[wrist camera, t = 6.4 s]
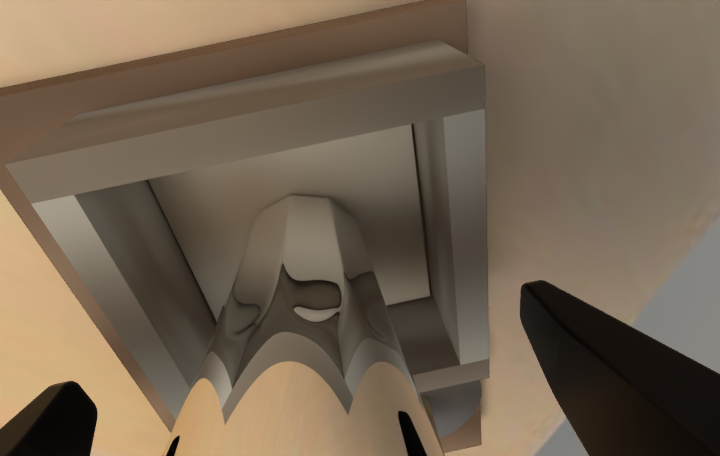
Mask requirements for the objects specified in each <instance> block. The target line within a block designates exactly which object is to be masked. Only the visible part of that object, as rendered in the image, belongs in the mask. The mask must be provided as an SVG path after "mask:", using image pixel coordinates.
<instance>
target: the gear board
mask: <svg viewBox="0 0 720 456" xmlns="http://www.w3.org/2000/svg"><path fill="white" fill-rule="evenodd" d="M0 189H1V191H2V192H3V194H4V195H5V196H6V198H7V199H8V201H9V202H10V204H11V205H12V206H13V208H14V209H15V211H16V212H17V214H18V215H19V216H20V218H21V219H22V221H23V222H24V224H25V225H26V226H27V228H28V229H29V231H30V232H31V234H32V235H33V237H34V238H35V239H36V241H37V242H38V244H39V245H40V247H41V248H42V249H43V251H44V252H45V254H46V255H47V257H48V258H49V259H50V261H51V262H52V264H53V265H54V267H55V268H56V269H57V271H58V272H59V274H60V275H61V277H62V278H63V279H64V281H65V282H66V284H67V285H68V287H69V288H70V289H71V291H72V292H73V294H74V295H75V297H76V298H77V299H78V301H79V302H80V304H81V305H82V307H83V308H84V309H85V311H86V312H87V314H88V315H89V317H90V318H91V319H92V321H93V322H94V324H95V325H96V327H97V328H98V329H99V331H100V332H101V334H102V335H103V337H104V338H105V339H106V341H107V342H108V344H109V345H110V347H111V348H112V349H113V351H114V352H115V354H116V355H117V357H118V358H119V359H120V361H121V362H122V364H123V365H124V367H125V368H126V369H127V371H128V372H129V374H130V375H131V377H132V378H133V379H134V381H135V382H136V384H137V385H138V387H139V388H140V390H141V391H142V392H143V394H144V395H145V397H146V398H147V400H148V401H149V402H150V404H151V405H152V407H153V408H154V410H155V411H156V412H157V414H158V415H159V417H160V418H161V420H162V421H163V422H164V424H165V425H166V427H167V428H168V430H169V431H170V432H172V430H173V427H174V425H175V422H176V420H177V418H178V415H179V413H180V410H181V408H182V405H183V403H184V401H185V398H186V396H187V393H188V391H189V389H190V387H191V384H192V382H193V380H194V378H195V376H196V374H197V372H198V370H199V368H200V366H201V363H202V361H203V359H204V357H205V354H206V352H207V349H208V346H209V343H210V341H211V338H212V335H213V332H214V329H215V327H216V324H217V321H218V318H219V315H220V313H221V310H222V307H223V304H224V301H225V299H226V296H227V293H228V290H229V287H230V284H231V282H232V279H233V276H234V273H235V270H236V268H237V265H238V262H239V259H240V256H241V254H242V251H243V248H244V245H245V243H246V240H247V238H248V236H249V233H250V231H251V229H252V226H253V224H254V221H255V219H256V216H257V214H258V212H259V211H261V210H263V209H265V208H267V207H269V206H271V205H272V204H274V203H276V202H278V201H280V200H282V199H283V198H285V197H287V196H289V195H303V196H316V197H328V198H330V199H331V200H332V201H333V202H335V203H336V204H337V205H338V206H340V207H341V208H342V209H344V210H345V211H346V212H347V213H349V214H350V215H351V216H353V217H354V218H355V219H356V221H357V224H358V227H359V229H360V232H361V235H362V238H363V241H364V244H365V247H366V249H367V252H368V255H369V258H370V261H371V264H372V267H373V269H374V272H375V275H376V278H377V281H378V284H379V287H380V289H381V292H382V295H383V298H384V301H385V304H386V307H387V310H388V312H389V315H390V318H391V321H392V324H393V327H394V329H395V332H396V335H397V338H398V340H399V343H400V346H401V348H402V351H403V353H404V356H405V358H406V361H407V363H408V366H409V368H410V371H411V373H412V376H413V378H414V381H415V383H416V386H417V388H418V391H419V393H420V396H421V398H422V401H423V403H424V406H425V409H426V411H427V414H428V416H429V419H430V421H431V424H432V426H433V429H434V431H435V434H436V436H437V439H438V441H439V444H440V446H441V449H442V452H443V454H444V453H447V452H451V451H456V450H460V449H465V448H470V447H474V446H479V445H482V444H481V416H480V398H481V385H480V382H479V380H481V379H485V378H489V323H488V260H487V196H486V133H485V70H484V64H483V63H481V62H479V61H477V60H475V59H473V58H472V57H470V56H468V47H467V19H466V0H425V1H421V2H416V3H411V4H406V5H401V6H396V7H392V8H387V9H382V10H377V11H372V12H367V13H363V14H358V15H353V16H348V17H343V18H338V19H333V20H329V21H324V22H319V23H314V24H309V25H304V26H300V27H295V28H290V29H285V30H280V31H275V32H271V33H266V34H261V35H256V36H251V37H246V38H241V39H237V40H232V41H227V42H222V43H217V44H212V45H208V46H203V47H198V48H193V49H188V50H183V51H178V52H174V53H169V54H164V55H159V56H154V57H149V58H145V59H140V60H135V61H130V62H125V63H120V64H116V65H111V66H106V67H101V68H96V69H91V70H86V71H82V72H77V73H72V74H67V75H62V76H57V77H53V78H48V79H43V80H38V81H33V82H28V83H24V84H19V85H14V86H9V87H4V88H0ZM444 456H445V455H444Z"/></svg>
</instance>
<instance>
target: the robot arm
mask: <svg viewBox="0 0 720 456" xmlns="http://www.w3.org/2000/svg"><path fill="white" fill-rule="evenodd" d="M520 318H521V322H522V325H523V327H524V330H525V332H526V334H527V336H528V339H529V341H530V343H531V345H532V348H533V350H534V352H535V354H536V357H537V359H538V361H539V363H540V366H541V368H542V370H543V372H544V375H545V377H546V379H547V381H548V384H549V386H550V388H551V390H552V392H553V394H554V396H555V398H556V399H557V401H558V403H559V405H560V407H561V408H562V410H563V412H564V414H565V415H566V417H567V419H568V420H569V422H570V424H571V426H572V427H573V429H574V431H575V432H576V434H577V436H578V437H579V439H580V441H581V442H582V444H583V446H584V448H585V449H586V451H587V453H588V455H589V456H720V374H719V373H717V372H715V371H713V370H711V369H709V368H707V367H706V366H704V365H702V364H700V363H698V362H696V361H694V360H692V359H691V358H689V357H687V356H685V355H683V354H681V353H679V352H678V351H676V350H674V349H672V348H670V347H668V346H666V345H664V344H662V343H661V342H659V341H657V340H655V339H653V338H651V337H649V336H648V335H646V334H644V333H642V332H640V331H638V330H636V329H634V328H632V327H631V326H629V325H627V324H625V323H623V322H621V321H619V320H618V319H616V318H614V317H612V316H610V315H608V314H606V313H604V312H603V311H601V310H599V309H597V308H595V307H593V306H591V305H589V304H588V303H586V302H584V301H582V300H580V299H578V298H576V297H574V296H573V295H571V294H569V293H567V292H565V291H563V290H561V289H559V288H558V287H556V286H554V285H552V284H550V283H548V282H546V281H543V280H538V281H534V282H529V283H525V284H523V285H522V287H521V298H520ZM96 422H97V408H96V406H95V404H94V403H93V401H92V400H91V399H90V398H89V396H88V395H87V394H86V393H85V391H84V390H83V389H82V388H81V387H80V385H79V384H78V383H76V382H74V381H68V382H63V383H58V384H54V385H52V386H50V387H48V388H47V389H46V390H44V391H43V392H42V393H41V394H40V395H39V396H38V397H36V398H35V399H34V400H33V401H32V402H31V403H30V404H28V405H27V406H26V407H25V408H24V409H23V410H22V411H20V412H19V413H18V414H17V415H16V416H15V417H14V418H12V419H11V420H10V421H9V422H8V423H7V424H6V425H4V426H3V427H2V428H1V429H0V456H90V452H91V447H92V442H93V437H94V432H95V427H96Z"/></svg>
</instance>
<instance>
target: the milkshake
mask: <svg viewBox="0 0 720 456" xmlns="http://www.w3.org/2000/svg"><path fill="white" fill-rule="evenodd" d="M162 456H444V454H443V452H442V449H441V446H440V444H439V441H438V439H437V436H436V434H435V431H434V429H433V426H432V424H431V421H430V419H429V416H428V414H427V411H426V409H425V406H424V403H423V401H422V398H421V396H420V393H419V391H418V388H417V386H416V383H415V381H414V378H413V376H412V373H411V371H410V368H409V366H408V363H407V361H406V358H405V356H404V353H403V351H402V348H401V346H400V343H399V340H398V338H397V335H396V332H395V329H394V327H393V324H392V321H391V318H390V315H389V312H388V310H387V307H386V304H385V301H384V298H383V295H382V292H381V289H380V287H379V284H378V281H377V278H376V275H375V272H374V269H373V267H372V264H371V261H370V258H369V255H368V252H367V249H366V247H365V244H364V241H363V238H362V235H361V232H360V229H359V227H358V224H357V221H356V219H355V218H354V217H353V216H351V215H350V214H349V213H347V212H346V211H345V210H344V209H342V208H341V207H340V206H338V205H337V204H336V203H335V202H333V201H332V200H331V199H330V198H328V197H316V196H303V195H289V196H287V197H285V198H283V199H282V200H280V201H278V202H276V203H274V204H272V205H271V206H269V207H267V208H265V209H263V210H261V211H259V212H258V214H257V216H256V219H255V221H254V224H253V226H252V229H251V231H250V233H249V236H248V238H247V240H246V243H245V245H244V248H243V251H242V254H241V256H240V259H239V262H238V265H237V268H236V270H235V273H234V276H233V279H232V282H231V284H230V287H229V290H228V293H227V296H226V299H225V301H224V304H223V307H222V310H221V313H220V315H219V318H218V321H217V324H216V327H215V329H214V332H213V335H212V338H211V341H210V343H209V346H208V349H207V352H206V354H205V357H204V359H203V361H202V363H201V366H200V368H199V370H198V372H197V374H196V376H195V378H194V380H193V382H192V384H191V387H190V389H189V391H188V393H187V396H186V398H185V401H184V403H183V405H182V408H181V410H180V413H179V415H178V418H177V420H176V422H175V425H174V427H173V430H172V432H171V435H170V437H169V440H168V442H167V444H166V447H165V449H164V452H163V454H162Z"/></svg>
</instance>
